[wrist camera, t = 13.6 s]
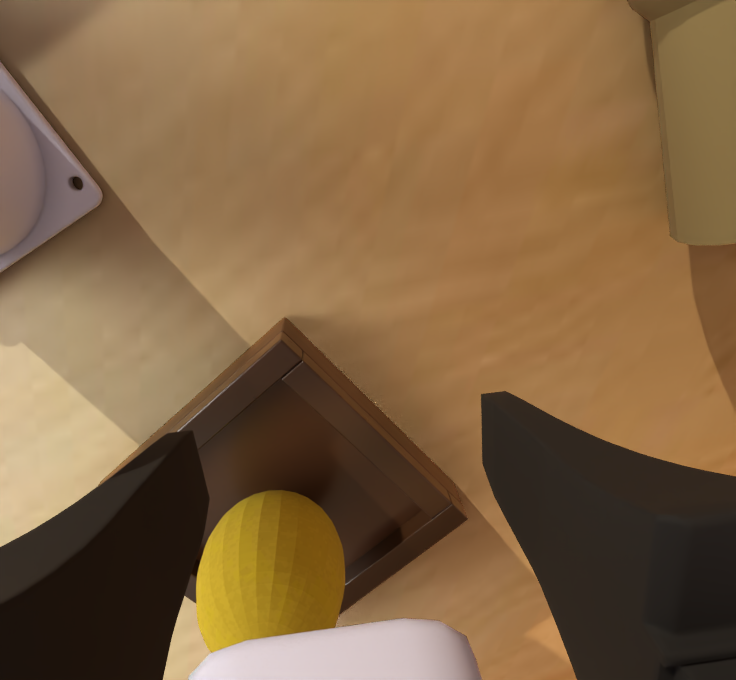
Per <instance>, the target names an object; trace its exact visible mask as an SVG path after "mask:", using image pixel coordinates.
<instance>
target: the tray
mask: <svg viewBox="0 0 736 680" xmlns="http://www.w3.org/2000/svg"><path fill="white" fill-rule="evenodd" d="M188 430H193V433H194V437H195V441H196V445H197V449H198V453H199V457H200V461H201V465H202V469H203V473H204V477H205V481H206V485H207V489H208V493H209V497H210V501H209V507H208V514H207V520H206V525H205V531H204V536H203V539H202V542H201V546H200V549H199V552H198V555H197V558H196V561H195V564H194V568H193V571H192V574H191V577H190V580H189V583H188V586H187V589H186V592H185V595H184V596H186V597H187V598H189V599H190V600H192V601H193V602H195V603H196V581H197V573H198V569H199V565H200V561H201V558H202V555H203V552H204V548H205V545H206V543H207V541H208V538H209V537H210V535H211V533H212V531H213V530H214V529H215V527H216V526H217V524H218V523H219V521H220V520H221V518H222V517H223V516H224V515H225V514H226V513H227V512H228V511H229V510H230V509H231V508H232V507H234V506H235V505H236V504H237V503H238V502H240V501H242V500H244V499H246V498H248V497H250V496H252V495H254V494H257V493H261V492H265V491H269V490H285V491H290V492H295V493H298V494H300V495H303V496H305V497H308V498H309V499H310V500H312V501H313V502H315V503H316V504H317V505H319V506H320V507H321V508H322V509H323V510H324V512H325V513H326V514H327V515H328V517H329V518H330V519H331V521H332V522H333V524H334V526H335V529H336V531H337V533H338V536H339V538H340V541H341V544H342V548H343V553H344V564H345V589H344V595H343V600H342V604H341V608H340V612H339V615H340V614H341V613H342V612H344V611H345V610H346V609H348V608H349V607H350V606H352V605H353V604H354V603H356V602H357V601H358V600H360V599H361V598H362V597H364V596H365V595H367V594H368V593H369V592H371V591H372V590H373V589H375V588H376V587H377V586H379V585H380V584H381V583H383V582H384V581H385V580H387V579H388V578H389V577H391V576H392V575H394V574H395V573H396V572H398V571H399V570H400V569H402V568H403V567H404V566H406V565H407V564H408V563H410V562H411V561H412V560H414V559H415V558H416V557H418V556H419V555H420V554H422V553H423V552H425V551H426V550H427V549H429V548H430V547H431V546H433V545H434V544H435V543H437V542H438V541H439V540H441V539H442V538H443V537H445V536H446V535H447V534H449V533H450V532H452V531H453V530H454V529H456V528H457V527H458V526H460V525H461V524H462V523H464V522H465V521H466V520H468V518H467V515H466V513H465V510H464V508H463V505H462V503H461V500H460V498H459V495H458V493H457V490H456V488H455V485H454V483H453V481H452V480H451V479H450V478H449V477H448V476H447V475H446V474H445V473H444V472H443V471H442V470H441V469H440V468H439V467H438V466H437V465H436V464H434V463H433V462H432V461H431V460H430V459H429V458H428V457H427V456H426V455H425V454H424V453H423V452H422V451H421V450H420V449H419V448H418V447H417V446H416V445H415V444H414V443H413V442H412V441H411V440H410V439H409V438H408V437H407V436H406V435H405V434H404V433H403V432H402V431H401V430H400V429H399V428H398V427H397V426H396V425H395V424H394V423H393V422H392V421H391V420H390V419H389V418H388V417H387V416H386V415H385V414H384V413H383V412H382V411H381V410H380V409H378V408H377V407H376V406H375V405H374V404H373V403H372V402H371V401H370V400H369V399H368V398H367V397H366V396H365V395H364V394H363V393H362V392H361V391H360V390H359V389H358V388H357V387H356V386H355V385H354V384H353V383H352V382H351V381H350V380H349V379H348V378H347V377H346V376H345V375H344V374H343V373H342V372H341V371H340V370H339V369H338V368H337V367H336V366H335V365H334V364H333V363H332V362H331V361H330V360H329V359H328V358H327V357H326V356H325V355H324V354H322V353H321V352H320V351H319V350H318V349H317V348H316V347H315V346H314V345H313V344H312V343H311V342H310V341H309V340H308V339H307V338H306V337H305V336H304V335H303V334H302V333H301V332H300V331H299V330H298V329H297V328H296V327H295V326H294V325H293V324H292V323H291V322H290V321H289V320H288V319H287V318H285V317H284V318H283V319H282V320H280V321H279V322H278V323H277V324H276V325H275V326H274V327H273V328H271V329H270V330H269V331H268V332H267V333H266V334H265V335H264V336H263V337H261V338H260V339H259V340H258V341H257V342H256V343H255V344H254V345H253V346H251V347H250V348H249V349H248V350H247V351H246V352H245V353H244V354H243V355H241V356H240V357H239V358H238V359H237V360H236V361H235V362H234V363H232V364H231V365H230V366H229V367H228V368H227V369H226V370H225V371H224V372H222V373H221V374H220V375H219V376H218V377H217V378H216V379H215V380H214V381H212V382H211V383H210V384H209V385H208V386H207V387H206V388H205V389H204V390H202V391H201V392H200V393H199V394H198V395H197V396H196V397H195V398H193V399H192V400H191V401H190V402H189V403H188V404H187V405H186V406H185V407H183V408H182V409H181V410H180V411H179V412H178V413H177V414H176V415H175V416H173V417H172V418H171V419H170V420H169V421H168V422H167V423H166V424H165V425H163V426H162V427H161V428H160V429H159V430H158V431H157V432H156V433H154V434H153V435H152V436H151V437H150V438H149V439H148V440H147V441H146V442H144V443H143V444H142V445H141V446H140V447H139V448H138V449H137V450H136V451H134V452H133V453H132V454H131V455H130V456H129V457H128V458H127V459H126V460H124V461H123V462H122V463H121V464H120V465H119V466H118V467H117V468H116V469H114V470H113V471H112V472H111V473H110V474H109V475H108V476H107V477H105V478H104V479H103V480H102V481H101V482H100V484H99V485H101V484H102V483H103V482H105V481H106V480H107V479H109V478H110V477H111V476H113V475H114V474H115V473H116V472H118V471H119V470H120V469H121V468H123V467H124V466H125V465H126V464H128V463H129V462H130V461H132V460H133V459H134V458H135V457H137V456H138V455H139V454H140V453H142V452H143V451H144V450H145V449H147V448H148V447H149V446H150V445H152V444H153V443H154V442H156V441H157V440H158V439H160V438H161V437H162V436H164V435H166V434H167V433H172V432H180V431H188ZM99 485H98V486H99Z"/></svg>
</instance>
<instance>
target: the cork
mask: <svg viewBox="0 0 736 680" xmlns="http://www.w3.org/2000/svg"><path fill="white" fill-rule="evenodd" d="M627 1H628V3H629V5H630V6H631V8H632V9H633V10H634V11H635V12H637V13H638V14H640V15H641V16H643V17H644V18H645V19H647V20H648V21H650V29H651V40H652V51H653V61H654V72H655V82H656V93H657V103H658V114H659V124H660V135H661V146H662V156H663V167H664V177H665V188H666V198H667V209H668V219H669V230H670V236H671V237H672V238H673V239H675V240H676V241H677V242H680V243H685V244H690V245H726V244H734V243H736V0H627Z"/></svg>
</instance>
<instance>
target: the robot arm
mask: <svg viewBox="0 0 736 680" xmlns="http://www.w3.org/2000/svg"><path fill="white" fill-rule="evenodd" d="M75 176H77V177H79V178H80V179H81V180H82V182H83V188H82V189H81V190H79V189H77V188H76V187H74V185H73V178H74V177H75ZM102 199H103V195H102V191H101V189H100V187H99V186H98V185H97V184H96V182H95V181H94V180H93V179H92V177H91V176H90V175H89V173H88V172H87V171H86V170H85V168H84V167H83V166H82V165H81V163H80V162H79V161H78V159H77V158H76V157H75V156H74V154H73V153H72V152H71V151H70V149H69V148H68V147H67V145H66V144H65V143H64V142H63V140H62V139H61V138H60V137H59V135H58V134H57V133H56V132H55V130H54V129H53V128H52V126H51V125H50V124H49V123H48V121H47V120H46V119H45V118H44V116H43V115H42V114H41V112H40V111H39V110H38V109H37V107H36V106H35V105H34V104H33V102H32V101H31V100H30V98H29V97H28V96H27V95H26V93H25V92H24V91H23V90H22V88H21V87H20V86H19V85H18V83H17V82H16V81H15V79H14V78H13V77H12V76H11V74H10V73H9V72H8V71H7V69H6V68H5V67H4V65H3V64H2V63H1V62H0V273H1V272H2V271H4V270H5V269H6V268H8V267H9V266H11V265H12V264H14V263H15V262H17V261H18V260H20V259H21V258H23V257H24V256H26V255H27V254H28V253H30V252H31V251H33V250H34V249H36V248H37V247H39V246H40V245H42V244H43V243H45V242H46V241H47V240H49V239H50V238H52V237H53V236H55V235H56V234H58V233H59V232H61V231H62V230H64V229H65V228H67V227H68V226H69V225H71V224H72V223H74V222H75V221H77V220H78V219H80V218H81V217H83V216H84V215H86V214H87V213H88V212H90V211H91V210H93V209H94V208H96V207H97V206H98V205H99V204H100V203H101V202H102ZM481 409H482V461H483V466H484V469H485V472H486V475H487V478H488V480H489V483H490V486H491V488H492V491H493V494H494V496H495V498H496V500H497V502H498V504H499V506H500V508H501V510H502V512H503V514H504V516H505V518H506V520H507V522H508V523H509V525H510V527H511V529H512V531H513V533H514V535H515V537H516V538H517V540H518V542H519V544H520V546H521V548H522V550H523V552H524V553H525V555H526V557H527V559H528V561H529V563H530V565H531V567H532V568H533V570H534V573H535V575H536V577H537V579H538V581H539V583H540V585H541V587H542V590H543V592H544V595H545V597H546V600H547V602H548V605H549V607H550V610H551V612H552V615H553V617H554V620H555V622H556V625H557V627H558V630H559V633H560V635H561V638H562V640H563V643H564V646H565V648H566V651H567V654H568V656H569V659H570V661H571V664H572V667H573V669H574V672H575V675H576V678H577V680H736V477H735V476H730V475H725V474H719V473H714V472H709V471H704V470H700V469H695V468H691V467H687V466H682V465H679V464H675V463H671V462H668V461H664V460H660V459H657V458H653V457H650V456H647V455H643V454H640V453H637V452H634V451H631V450H629V449H626V448H623V447H620V446H618V445H615V444H612V443H610V442H607V441H605V440H602V439H600V438H597V437H595V436H593V435H591V434H588V433H586V432H584V431H582V430H580V429H577V428H575V427H573V426H571V425H569V424H567V423H565V422H563V421H561V420H559V419H557V418H555V417H553V416H552V415H550V414H548V413H546V412H544V411H542V410H540V409H539V408H537V407H535V406H533V405H531V404H529V403H528V402H526V401H524V400H522V399H520V398H518V397H516V396H515V395H513V394H510V393H508V392H506V391H503V392H495V393H487V394H481ZM209 501H210V497H209V493H208V489H207V485H206V481H205V477H204V473H203V469H202V465H201V461H200V457H199V453H198V449H197V445H196V441H195V437H194V433H193V430H188V431H180V432H172V433H167V434H166V435H164V436H162V437H161V438H160V439H158V440H157V441H156V442H154V443H153V444H152V445H150V446H149V447H148V448H147V449H145V450H144V451H143V452H142V453H140V454H139V455H138V456H137V457H135V458H134V459H133V460H132V461H130V462H129V463H128V464H126V465H125V466H124V467H123V468H121V469H120V470H119V471H118V472H116V473H115V474H114V475H113V476H111V477H110V478H109V479H107V480H106V481H105V482H103V483H102V484H101V485H99V486H98V487H96V488H95V489H94V490H92V491H91V492H90V493H88V494H87V495H85V496H84V497H83V498H81V499H80V500H79V501H77V502H76V503H74V504H73V505H71V506H70V507H68V508H67V509H65V510H64V511H62V512H61V513H59V514H58V515H56V516H55V517H53V518H51V519H50V520H48V521H46V522H45V523H43V524H41V525H40V526H38V527H37V528H35V529H33V530H31V531H30V532H28V533H26V534H24V535H22V536H21V537H19V538H17V539H15V540H13V541H11V542H9V543H7V544H6V545H4V546H2V547H0V680H163V675H164V671H165V666H166V661H167V657H168V652H169V647H170V642H171V638H172V634H173V631H174V627H175V623H176V620H177V617H178V613H179V610H180V607H181V604H182V601H183V598H184V595H185V592H186V589H187V586H188V583H189V580H190V577H191V574H192V571H193V568H194V564H195V561H196V558H197V555H198V552H199V549H200V546H201V542H202V539H203V536H204V531H205V525H206V520H207V514H208V507H209ZM188 680H482V678H481V675H480V671H479V668H478V665H477V661H476V658H475V656H474V654H473V651H472V649H471V647H470V644H469V642H468V640H467V637H466V636H465V635H463V634H461V633H460V632H458V631H456V630H455V629H453V628H451V627H449V626H448V625H446V624H444V623H442V622H441V621H438V620H429V619H412V618H399V619H392V620H385V621H378V622H371V623H364V624H357V625H350V626H343V627H336V628H328V629H321V630H314V631H307V632H300V633H293V634H286V635H279V636H272V637H265V638H258V639H250V640H246V641H243V642H240V643H237V644H234V645H231V646H228V647H226V648H223V649H220V650H217V651H215V652H212V653H210V654H209V655H208V656H207V657H206V658H205V659H204V660H203V661H202V662H201V663H200V665H199V666H198V667H197V668H196V669H195V670H194V671H193V672H192V673H191V674H190V675H189V677H188Z"/></svg>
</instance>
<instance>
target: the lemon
mask: <svg viewBox="0 0 736 680" xmlns="http://www.w3.org/2000/svg"><path fill="white" fill-rule="evenodd" d="M344 589H345V564H344V553H343V548H342V544H341V541H340V538H339V536H338V533H337V531H336V529H335V526H334V524H333V522H332V521H331V519H330V518H329V517H328V515H327V514H326V513H325V512H324V510H323V509H322V508H321V507H320V506H319V505H317V504H316V503H315V502H313V501H312V500H310V499H309V498H308V497H305V496H303V495H300V494H298V493H295V492H290V491H285V490H269V491H265V492H261V493H257V494H254V495H252V496H250V497H248V498H246V499H244V500H242V501H240V502H238V503H237V504H236V505H235V506H234V507H232V508H231V509H230V510H229V511H228V512H227V513H226V514H225V515H224V516H223V517H222V518H221V520H220V521H219V523H218V524H217V526H216V527H215V529H214V530H213V531H212V533H211V535H210V537H209V538H208V541H207V543H206V545H205V548H204V552H203V555H202V558H201V561H200V565H199V569H198V573H197V581H196V605H197V619H198V624H199V628H200V631H201V634H202V636H203V639H204V641H205V643H206V645H207V647H208V649H209V650H210V651H211V653H212V652H215V651H217V650H220V649H223V648H226V647H228V646H231V645H234V644H237V643H240V642H243V641H246V640H250V639H258V638H265V637H272V636H279V635H286V634H293V633H300V632H307V631H314V630H321V629H328V628H335V625H336V622H337V619H338V615H339V612H340V608H341V604H342V600H343V595H344Z"/></svg>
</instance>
